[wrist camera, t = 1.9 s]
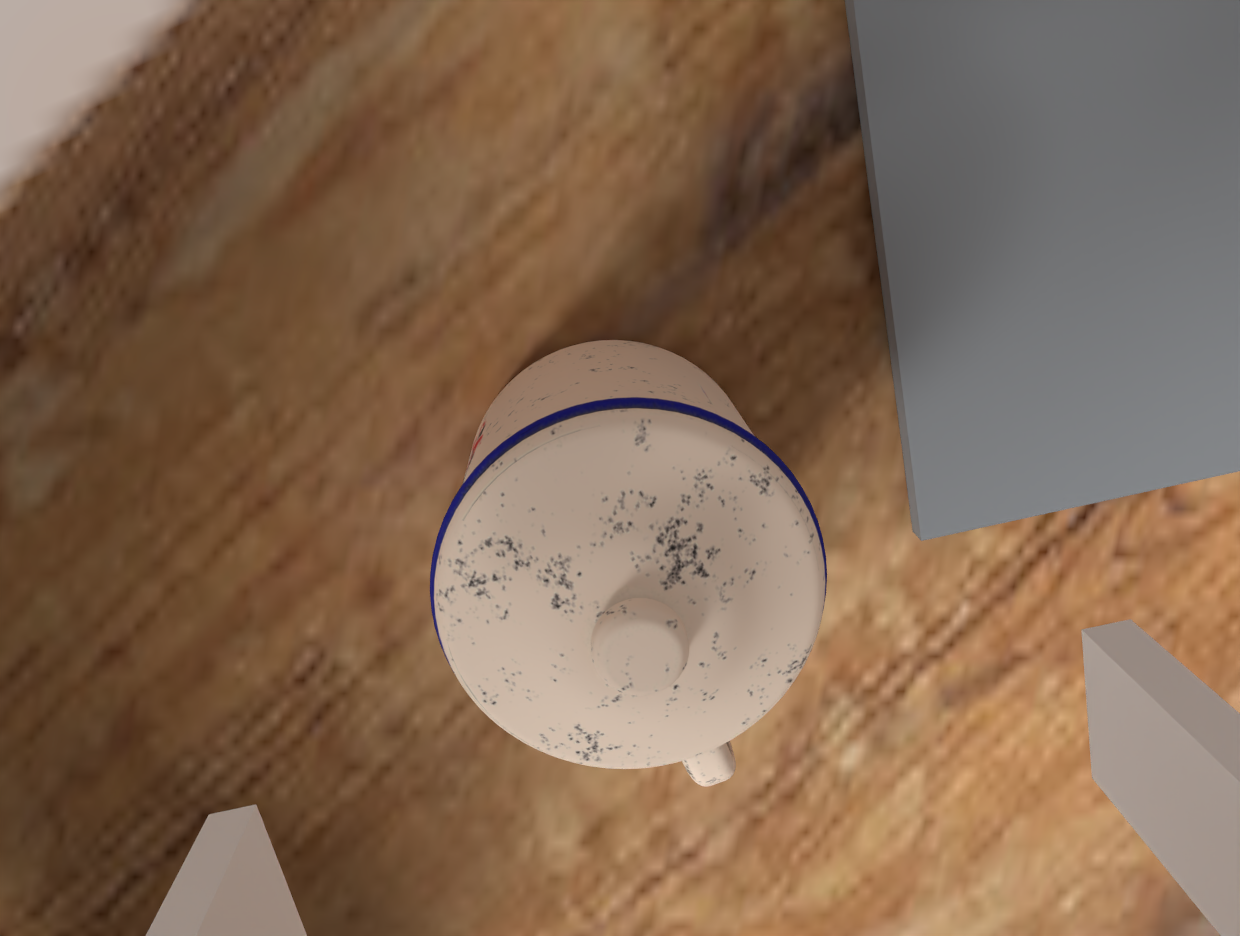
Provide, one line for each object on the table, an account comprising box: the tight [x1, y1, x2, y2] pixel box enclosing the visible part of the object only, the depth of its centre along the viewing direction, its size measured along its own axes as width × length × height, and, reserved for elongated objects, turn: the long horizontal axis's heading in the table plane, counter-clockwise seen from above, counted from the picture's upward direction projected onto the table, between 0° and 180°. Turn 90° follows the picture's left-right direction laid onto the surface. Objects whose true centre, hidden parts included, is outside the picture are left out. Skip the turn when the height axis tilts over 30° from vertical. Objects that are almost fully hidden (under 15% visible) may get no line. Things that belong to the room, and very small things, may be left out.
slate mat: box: [845, 0, 1240, 541], centre depth 29 cm, size 18×18×1 cm
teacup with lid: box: [430, 340, 827, 786], centre depth 26 cm, size 12×9×12 cm
